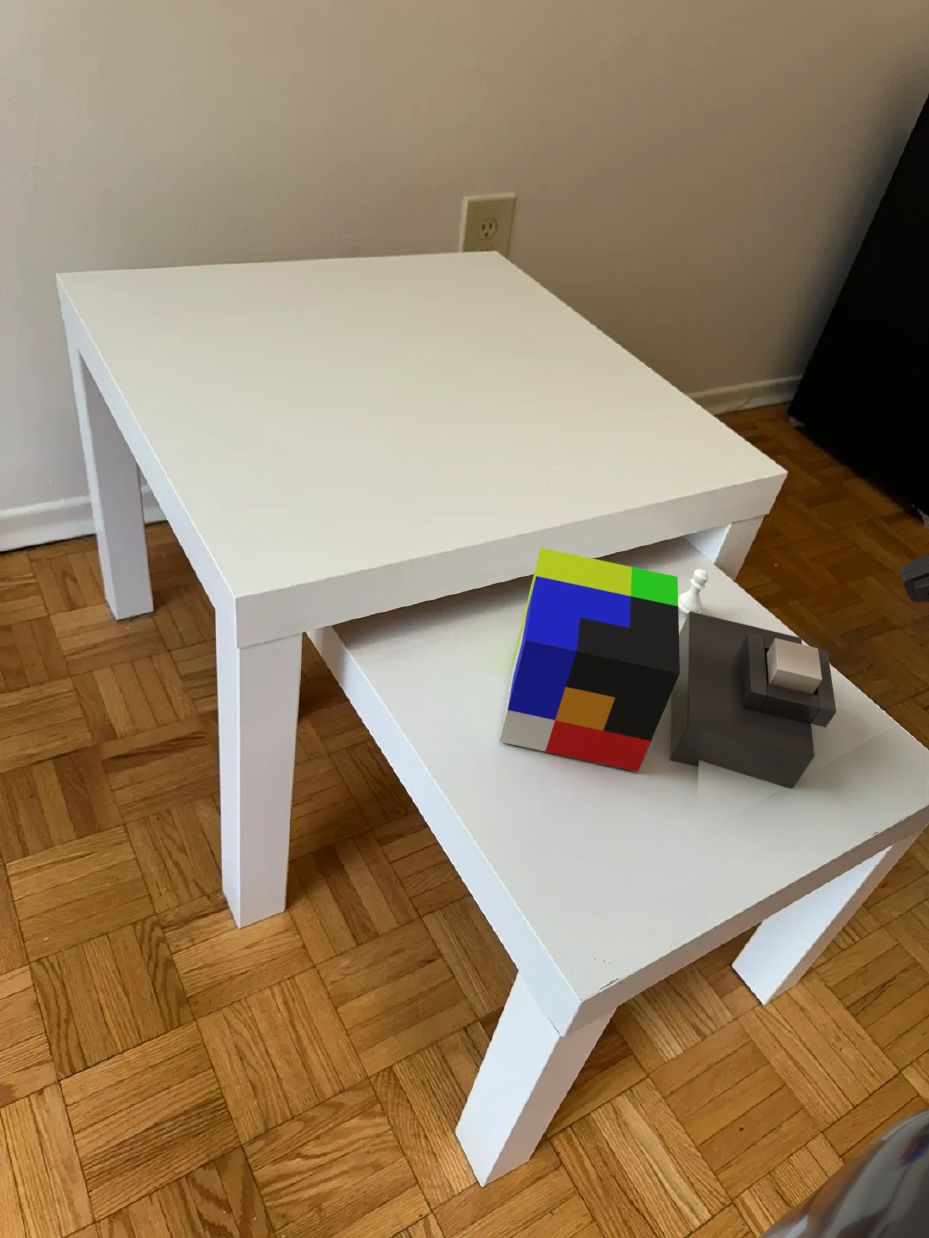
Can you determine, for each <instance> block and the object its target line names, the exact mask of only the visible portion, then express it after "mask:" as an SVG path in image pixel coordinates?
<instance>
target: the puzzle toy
mask: <svg viewBox="0 0 929 1238" xmlns="http://www.w3.org/2000/svg"><path fill="white" fill-rule="evenodd" d="M678 597H679V576H676V575H672V574H667V573H663V572H657V571H652V570H648V569H643V568H638V567H634V566H629V565H624V564H620V563H615V562H610V561H605V560H601V559H596V558H591V557H586V556H582V555H577V554H574V553H573V554H572V553H568V552H564V551H559V550H555V549H549V548H544V547H540V549H539V552H538V557H537V560H536V564H535V569H534V572H533V577H532V580H531V584H530V588H529V592H528V597H527V601H526V605H525V609H524V613H523V617H522V620H521V625H520V629H519V633H518V637H517V641H516V645H515V649H514V656H513V661H512V667H511V672H510V679H509V684H508V691H507V696H506V702H505V707H504V714H503V719H502V723H501V724H502V725H501V729H500V737H499V742H500V743H503V744H504V743H505V744H508V745H512V746H518V747H523V748H527V749H532V750H536V751H541V752H545V753H549V754H555V755H560V756H564V757H569V758H574V759H576V760H577V759H578V760H583V761H588V762H592V763H596V764H599V765H604V766H605V765H606V766H609V767H615V768H619V769H624V770H629V771H633V772H637V773H639V771H640V768H641V767H642V764H643V761H644V759H645V757H646V754H647V752H648V750H649V747H650V745H651V743H652V740H653V738H654V736H655V733H656V731H657V728H658V726H659V724H660V721H661V719H662V717H663V714H664V713H665V709H666V707H667V705H668V703H669V700H670V698H671V696H672V691H673V688H674V686H675V684H676V681H677V679H678V676H679V674H680V655H679V633H680V616H679V615H680V613H679V607H678Z"/></svg>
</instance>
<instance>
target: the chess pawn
mask: <svg viewBox="0 0 929 1238" xmlns="http://www.w3.org/2000/svg"><path fill="white" fill-rule="evenodd" d="M709 578H710V576H709V574H708V572H707V571H706V569H703V568H697V569H695V570H694V572H693V576H692V578H691V579H690V583H691V587H690V589H689V590H687V591H684V592H682V593H681V594H679V595H678V609H679V610H680V611H681V612H683V613H684V614H686V615H688V613H689V612H690V611H691V612H695V613H699V614H703V608H702V607H703V605H702V601H701V597H700V593H701V591H702V590H704V589H706V583H708V581H709Z"/></svg>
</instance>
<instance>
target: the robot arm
mask: <svg viewBox="0 0 929 1238" xmlns="http://www.w3.org/2000/svg"><path fill="white" fill-rule="evenodd" d="M899 573H900V577H901V582H902V585H903V588H904V590H905V592H906V593H907V595H908V597H909V599H910V601H912V602H913V603H929V553H928V554H925V555H922V556H920V557H916V558H915V559H913V560H911V561H910V562H908V563H906V564H904V565H902V566H901V567H900V569H899ZM757 1238H929V1106H926V1107H922V1108H920V1109H917V1110H913V1112H910V1113H909V1114H907V1115H906V1116H904V1117H901V1118H900V1119H898V1120H896V1121H894V1122H893V1123H891V1124H890V1125H888V1126H887V1127H886V1128H885V1129H883V1130H882V1131H881V1132H880V1133H878V1134H877V1135H875V1137H873V1138H872V1139H871V1140H870V1141H868V1142H867V1143H866V1144H865V1145H863V1146H862V1147H861V1148H860V1149H859V1150H858V1151H857V1152H855V1153H854V1155H852V1157H850V1158H849V1159H848V1160H847V1161H846V1162H845V1163H844V1164H843V1165H842V1166H840V1167H839V1169H838V1170H836V1171H835V1172H834V1173H833V1174H832V1175H831V1176H830V1177H829V1178H828V1179H827V1180H825V1182H823V1183H822V1184H821V1185H820V1186H818V1187H817V1188H816V1189H815V1190H814V1191H812V1192H811V1193H810V1194H809V1195H808V1196H807V1197H805V1198H804V1199H803V1200H802V1201H800V1202H799V1203H797V1204H796V1205H795V1206H793V1207H792V1208H791V1209H789V1210H788V1211H787V1212H785V1213H784V1214H783V1215H781V1216H780V1217H779V1218H778V1219H776V1220H775V1221H774V1222H773V1223H772V1224H771V1225H770V1226H769V1227H768V1228H767V1229H766V1230H765V1231H764V1232H762V1233H761V1234H760V1235H759V1236H758V1237H757Z"/></svg>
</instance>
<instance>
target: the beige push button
mask: <svg viewBox="0 0 929 1238" xmlns="http://www.w3.org/2000/svg"><path fill="white" fill-rule="evenodd" d="M818 649H819V648H818V647H814V646H810V645H806V644H803V643H802V644H798V643H794V642H790V641H785V640H781V639H777V638H775V639H774V641H773V643H772V645H771V647H770V649H769V650H768V652H767V654H766V655H767V668H768V682H769V684H771V685H776V686H780V687H784V688H788V689H792V690H796V691H801V692H805V693H809V694H813V693H814V692H815V690H816V688H817V687H818V685H819V684H820V682H821V681H822V675H821V667H820V660H819V652H818Z"/></svg>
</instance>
